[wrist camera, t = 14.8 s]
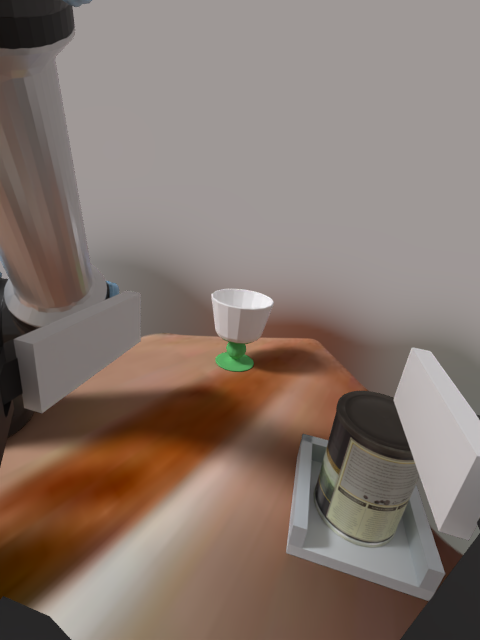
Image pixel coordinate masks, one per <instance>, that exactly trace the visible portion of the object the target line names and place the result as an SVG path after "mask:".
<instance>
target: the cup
mask: <svg viewBox="0 0 480 640" xmlns="http://www.w3.org/2000/svg"><path fill="white" fill-rule="evenodd" d="M211 295H212V303H213V312H214V321H215V329H216V332H217V334H218V335H219V336H220V337H221V338H222V339H224V340H226V341H228V342H229V343H228V344H227V347H226V349H227V352H225V353H222V354H219V355H218V356H217V357H216V363H217V364H218V365H219V366H220V367H221V368H223V369H225V370H229V371H235V372H242V371H247V370H249V369H251V368H252V367H253V365H254V363H253V360H252V359H251V358H250V357H249V356H247V355H245V352H246V346H245V344H248V343H252V342H254V341H256V340H258V339H259V338H260V336H261V335H262V332H263V330H264V327H265V324H266V322H267V319H268V317H269V314H270V312H271V309H272V306H273V304H274V302H273V300H272V299H271V298H270V297H268V296H266V295H264V294H261V293H258V292H255V291H249V290H243V289H222V290H218V291H215V292H214V293H213V294H211Z"/></svg>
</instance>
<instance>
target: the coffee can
mask: <svg viewBox="0 0 480 640" xmlns="http://www.w3.org/2000/svg"><path fill="white" fill-rule="evenodd" d="M418 478H419V473H418V470H417V467H416V464H415V461H414V458H413V455H412V452H411V450H410V447H409V444H408V441H407V438H406V435H405V432H404V429H403V426H402V423H401V421H400V418H399V415H398V412H397V409H396V406H395V403H394V398H393V397H390V396H387V395H384V394H380V393H375V392H369V391H354V392H349V393H347V394H344V395H343V396H342V397H341V398H340V399H339V401H338V404H337V412H336V415H335V419H334V422H333V426H332V430H331V433H330V437H329V441H328V444H327V448H326V452H325V455H324V459H323V462H322V466H321V470H320V473H319V477H318V480H317V484H316V486H315V489H314V503H315V506H316V509H317V511H318V513H319V515H320V517H321V518H322V520H323V521H324V522H325V524H326V525H327V526H328V527H329V528H330V529H331V530H332V531H333V532H335V533H336V534H337V535H338V536H340V537H342V538H343V539H345V540H347V541H349V542H351V543H353V544H356V545H359V546H364V547H379V546H383V545H385V544H387V543H389V542H390V541H391V540H392V539H393V537H394V536H395V534H396V530H397V526H398V524H399V522H400V519H401V517H402V515H403V513H404V510H405V508H406V506H407V504H408V501H409V499H410V497H411V495H412V492H413V490H414V488H415V485H416V483H417V481H418Z"/></svg>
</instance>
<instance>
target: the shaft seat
mask: <svg viewBox="0 0 480 640" xmlns="http://www.w3.org/2000/svg"><path fill="white" fill-rule="evenodd" d="M327 444H328V440H324V439H321V438H317V437H313V436H309V435H306V434H303V435H302V439H301V443H300V447H299V452H298V456H297V463H296V472H295V480H294V489H293V498H292V506H291V515H290V524H289V532H288V541H287V550H286V553H288V554H291V555H294V556H297V557H300V558H303V559H306V560H309V561H312V562H315V563H317V564H320V565H323V566H326V567H329V568H332V569H335V570H338V571H341V572H344V573H347V574H350V575H353V576H356V577H359V578H362V579H365V580H368V581H371V582H374V583H377V584H380V585H383V586H386V587H388V588H391V589H394V590H397V591H400V592H403V593H406V594H409V595H412V596H415V597H418V598H421V599H424V600H427V601H429V600H430V599H431V598H432V596H433V595H434V593H435V591H436V589H437V588H438V586H439V584H440V582H441V580H442V579H443V577H444V575H445V572H444V569H443V565H442V562H441V559H440V556H439V553H438V550H437V547H436V544H435V541H434V538H433V534H432V531H431V528H430V525H429V522H428V519H427V516H426V513H425V510H424V507H423V503H422V500H421V498H420V494H419V491H418V488H417V485H415V488H414V490H413V492H412V495H411V497H410V499H409V501H408V504H407V506H406V508H405V510H404V513H403V515H402V517H401V519H400V522H399V524H398V526H397V530H396V534H395V536H394V537H393V539H392V540H391V541H390V542H389V543H387V544H385V545H383V546H379V547H364V546H359V545H356V544H353V543H351V542H349V541H347V540H345V539H343V538H342V537H340V536H338V535H337V534H336V533H335V532H333V531H332V530H331V529H330V528H329V527H328V526H327V525H326V524H325V522H324V521H323V520H322V518H321V517H320V515H319V513H318V511H317V509H316V506H315V503H314V489H315V486H316V484H317V480H318V477H319V473H320V470H321V466H322V462H323V459H324V455H325V452H326V448H327Z"/></svg>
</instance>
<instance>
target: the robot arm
mask: <svg viewBox="0 0 480 640" xmlns="http://www.w3.org/2000/svg"><path fill="white" fill-rule="evenodd" d="M91 1H92V0H0V261H1V263H2V265H3V267H4V269H5V270H6V273H7V275H8V276H9V279H3V278H1V277H2V273H1V272H0V466H1V461H2V457H3V453H4V449H5V445H6V440H7V438H8V437H10V436H11V435H13V434H14V433H16V432H17V431H18V430H20V429H21V428H22V427H23V426H24V425H25V424H26V423H27V422H28V421H29V420H30V418H31V416H32V414H33V412H34V411H36V412H39V413H43V412H45V411H46V410H47V409H49V408H50V407H51V406H53V405H54V404H55V403H57V402H58V401H60V400H61V399H62V398H64V397H65V396H66V395H68V394H69V393H70V392H72V391H73V390H75V389H76V388H77V387H79V386H80V385H81V384H83V383H84V382H86V381H87V380H88V379H90V378H91V377H92V376H94V375H95V374H96V373H98V372H99V371H101V370H102V369H103V368H105V367H106V366H107V365H109V364H110V363H111V362H113V361H114V360H116V359H117V358H118V357H120V356H121V355H122V354H124V353H125V352H126V351H128V350H129V349H131V348H132V347H133V346H135V345H136V344H137V343H139V342H140V341H141V334H140V333H141V331H140V330H141V328H140V327H141V325H140V324H141V293H138V292H133V291H125V292H122V293H120V294H119V287H118V285H116V283H111V282H109V281H105V278H104V276H103V274H102V273H101V272H100V270H99V269H97V267H95V266H94V265H93V264H91V263H90V258H89V253H88V247H87V241H86V235H85V229H84V224H83V218H82V212H81V207H80V200H79V195H78V189H77V183H76V177H75V171H74V166H73V160H72V154H71V148H70V143H69V137H68V131H67V125H66V120H65V114H64V108H63V102H62V96H61V91H60V85H59V79H58V73H57V68H56V62H55V58H56V56H57V55H58V53H60V52H61V51H62V50H63V48H64V47H65V46H66V45H67V44H68V43H69V42H70V41H71V40H72V38H73V37H74V35H75V26H74V17H73V9H72V6H74V7H79V6H81V5H82V4H87V3H90V2H91ZM394 403H395V406H396V409H397V412H398V415H399V418H400V421H401V423H402V426H403V429H404V432H405V435H406V438H407V441H408V444H409V447H410V450H411V452H412V455H413V458H414V461H415V464H416V467H417V470H418V473H419V476H420V478H421V482H422V484H423V487H424V490H425V493H426V496H427V499H428V502H429V505H430V508H431V510H432V513H433V516H434V519H435V522H436V525H437V528H438V531H439V532H442V533H445V534H448V535H452V536H455V537H458V538H462V539H465V540H468V541H469V539H470V538H471V536H472V534H473V532H474V531H475V529H476V527H477V525H478V527H479V529H480V416H479V415H476V414H475V413H474V411H473V410H472V408H471V407H470V406H469V404H468V403H467V401H466V400H465V399H464V397H463V396H462V395H461V393H460V392H459V390H458V389H457V387H456V386H455V385H454V383H453V382H452V380H451V379H450V378H449V376H448V375H447V373H446V372H445V371H444V369H443V368H442V366H441V365H440V364H439V362H438V361H437V360H436V358H435V357H434V355H433V354H432V353H431V351H427V350H422V349H417V348H412V349H411V351H410V354H409V357H408V360H407V363H406V366H405V368H404V371H403V374H402V377H401V380H400V382H399V385H398V388H397V391H396V394H395V397H394ZM0 640H71V639H70V638H69V637H68V636H67V635H66V634H65V633H64V631H63V630H62V629H61V628H60V627H59V626H58V625H57V624H56V623H55V622H54V621H53V620H52V619H51V617H50V616H47V615H45V614H43V613H40V612H38V611H36V610H34V609H31V608H29V607H27V606H24V605H22V604H20V603H18V602H15V601H13V600H11V599H8V598H6V597H4V596H3V597H2V598H1V600H0ZM400 640H480V534H479V535H478V537H477V538H476V539H475V541H474V542H473V543H472V545H471V546H470V547H469V549H468V550H467V551H466V553H465V554H464V555H463V556H462V558H461V559H460V560H459V562H458V563H457V564H456V566H455V567H454V568H453V570H452V571H451V572H450V574H449V575H448V576H447V578H446V579H445V580H444V582H443V583H442V584H441V586H440V587H439V588H438V590H437V591H436V592H435V594H434V595H433V596H432V598H431V599H430V600H429V602H428V603H427V604H426V606H425V607H424V608H423V610H422V611H421V612H420V614H419V615H418V616H417V618H416V619H415V620H414V622H413V623H412V624H411V626H410V627H409V628H408V630H407V631H406V632H405V634H404V635H403V636H402V638H401V639H400Z"/></svg>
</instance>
